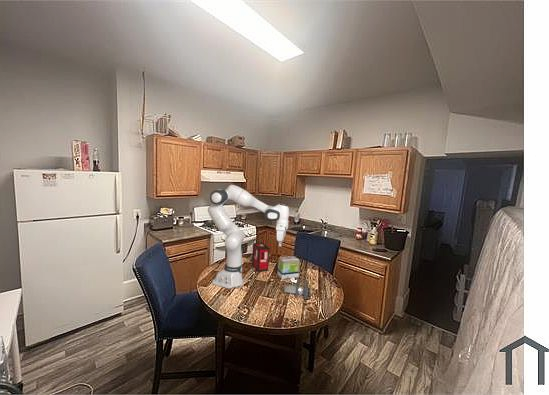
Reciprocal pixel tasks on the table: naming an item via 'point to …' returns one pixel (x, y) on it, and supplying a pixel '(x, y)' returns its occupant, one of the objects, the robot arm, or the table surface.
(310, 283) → the collars
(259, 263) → the cleaning product box
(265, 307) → the table surface
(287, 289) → the tube
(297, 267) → the tea box
